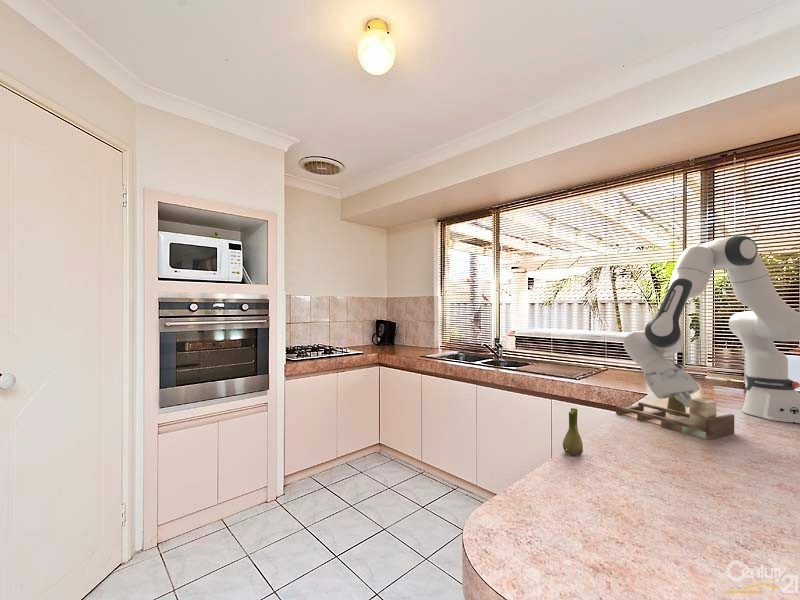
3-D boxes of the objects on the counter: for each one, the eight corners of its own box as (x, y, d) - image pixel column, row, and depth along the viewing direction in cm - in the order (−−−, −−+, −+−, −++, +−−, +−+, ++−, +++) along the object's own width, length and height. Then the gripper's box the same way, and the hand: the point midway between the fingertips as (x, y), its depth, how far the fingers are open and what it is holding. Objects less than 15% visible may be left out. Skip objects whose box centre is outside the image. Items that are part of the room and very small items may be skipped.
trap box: (734, 433, 120) (734, 414, 120) (709, 439, 114) (709, 419, 114) (639, 410, 147) (639, 394, 147) (615, 413, 141) (615, 397, 142)
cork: (679, 411, 146) (679, 382, 146) (690, 415, 140) (690, 385, 140) (663, 410, 147) (663, 382, 147) (672, 415, 141) (672, 385, 141)
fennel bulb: (573, 458, 99) (573, 412, 99) (557, 452, 103) (557, 407, 103) (587, 455, 101) (587, 409, 102) (571, 448, 106) (572, 405, 106)
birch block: (716, 426, 121) (716, 401, 121) (707, 428, 119) (707, 402, 119) (698, 422, 125) (698, 397, 125) (689, 424, 123) (689, 399, 123)
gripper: (648, 367, 128) (680, 404, 119) (684, 364, 136) (716, 398, 127) (635, 378, 132) (665, 414, 123) (670, 375, 140) (701, 408, 131)
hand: (691, 406), depth 125 cm, fingers closed
